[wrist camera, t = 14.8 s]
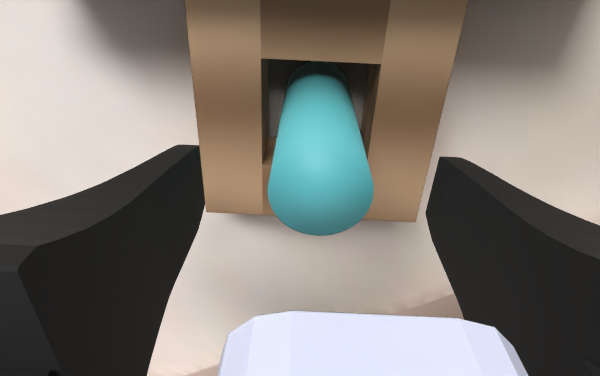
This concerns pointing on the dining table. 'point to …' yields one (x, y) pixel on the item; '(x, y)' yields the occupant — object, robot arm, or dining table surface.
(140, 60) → the dining table surface
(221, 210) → the wooden square frame
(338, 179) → the dowel
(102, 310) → the robot arm
